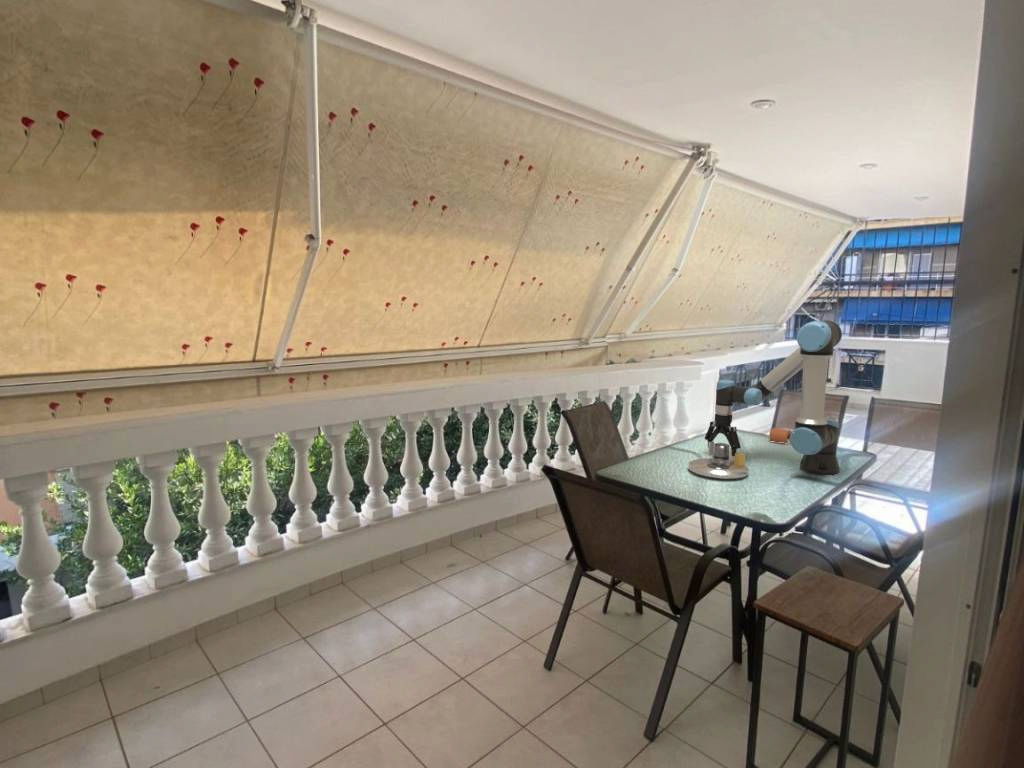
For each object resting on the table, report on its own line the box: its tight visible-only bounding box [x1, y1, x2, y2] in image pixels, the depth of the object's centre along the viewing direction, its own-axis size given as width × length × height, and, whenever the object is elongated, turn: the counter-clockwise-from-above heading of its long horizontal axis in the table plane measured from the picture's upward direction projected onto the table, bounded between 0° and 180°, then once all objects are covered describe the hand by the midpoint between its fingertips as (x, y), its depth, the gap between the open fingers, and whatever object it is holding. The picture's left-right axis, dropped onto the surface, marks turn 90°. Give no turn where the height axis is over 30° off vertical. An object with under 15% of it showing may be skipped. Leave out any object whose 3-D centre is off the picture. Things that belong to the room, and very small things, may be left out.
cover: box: [712, 442, 731, 460], centre depth 256 cm, size 8×8×7 cm
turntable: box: [688, 452, 749, 480], centre depth 235 cm, size 24×24×6 cm
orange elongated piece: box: [769, 427, 793, 443], centre depth 287 cm, size 20×8×8 cm, turn 135°
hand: (721, 458), depth 257 cm, fingers open, 12 cm apart
